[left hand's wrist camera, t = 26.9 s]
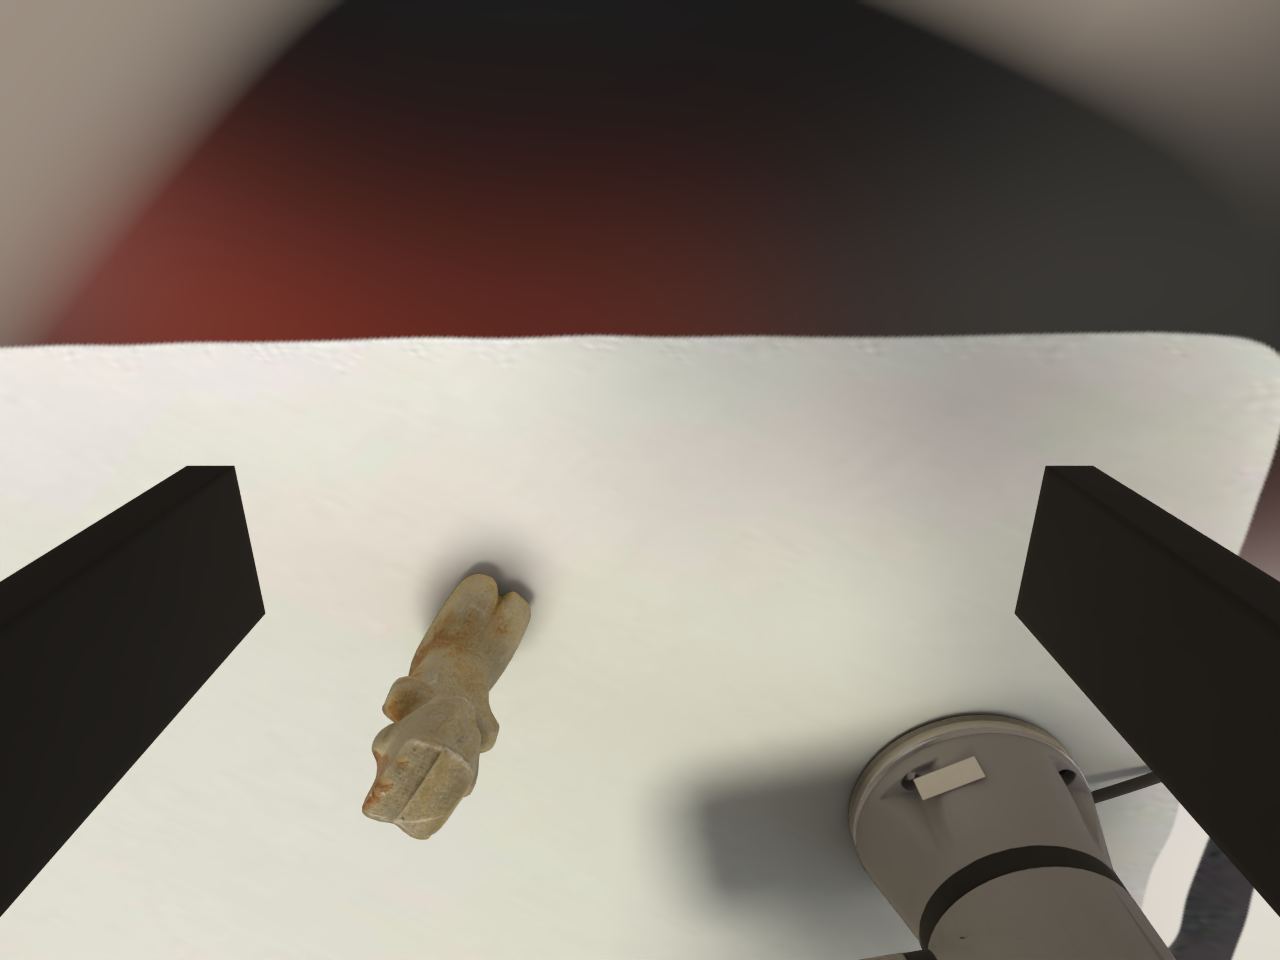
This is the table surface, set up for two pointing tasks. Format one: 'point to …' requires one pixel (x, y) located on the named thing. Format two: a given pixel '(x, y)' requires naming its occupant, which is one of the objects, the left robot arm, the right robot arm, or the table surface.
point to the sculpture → (445, 709)
